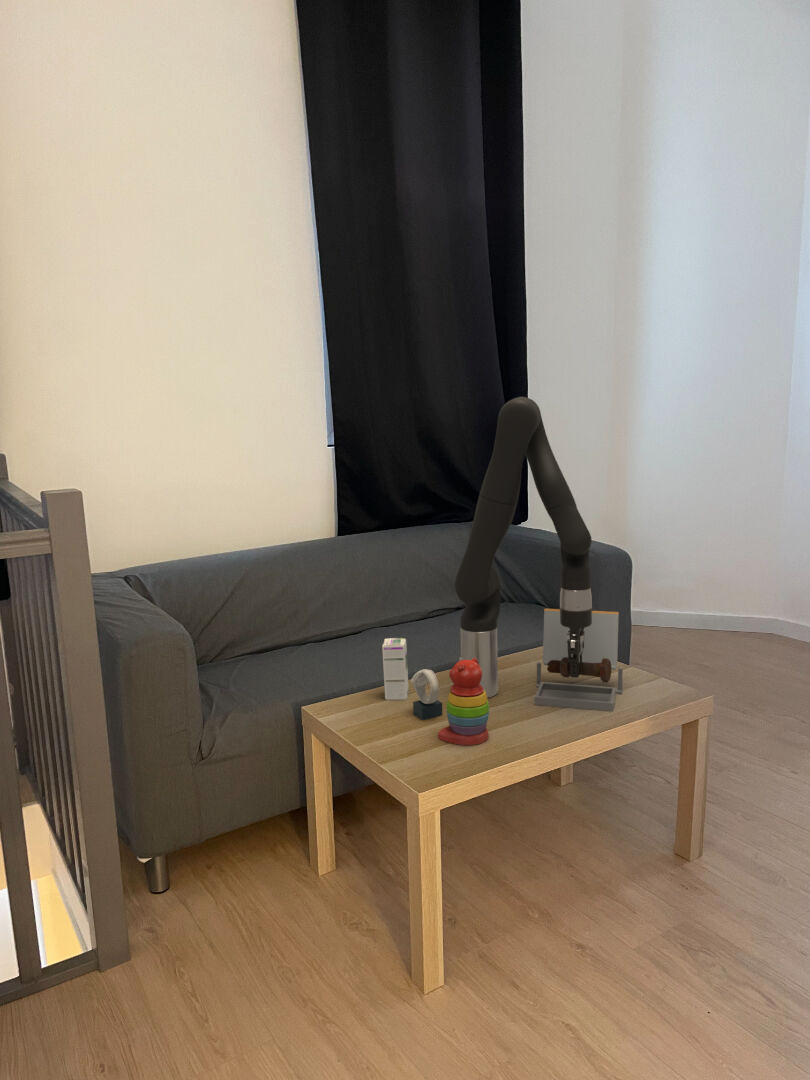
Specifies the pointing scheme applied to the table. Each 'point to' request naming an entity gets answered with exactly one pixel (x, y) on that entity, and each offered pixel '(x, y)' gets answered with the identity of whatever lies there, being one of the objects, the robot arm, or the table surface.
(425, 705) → the watch
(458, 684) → the stacking bear
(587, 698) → the housing
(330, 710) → the table surface
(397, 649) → the syrup box
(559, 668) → the bolt
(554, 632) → the lid
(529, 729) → the table surface
